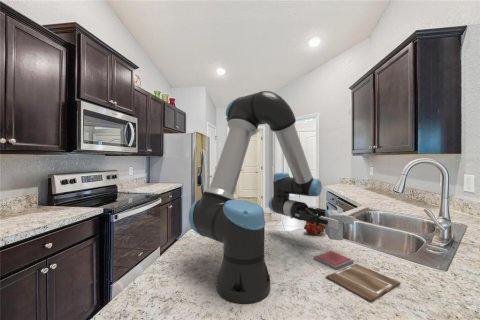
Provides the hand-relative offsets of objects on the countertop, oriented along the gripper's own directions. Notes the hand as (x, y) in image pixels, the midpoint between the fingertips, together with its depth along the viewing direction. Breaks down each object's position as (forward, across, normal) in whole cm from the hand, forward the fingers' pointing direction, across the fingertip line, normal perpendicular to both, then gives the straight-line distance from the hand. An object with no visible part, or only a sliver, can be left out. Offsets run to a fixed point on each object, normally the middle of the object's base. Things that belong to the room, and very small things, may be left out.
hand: (345, 222), depth 71 cm
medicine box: (-5, 0, -6) cm, 8 cm away
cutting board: (+8, +4, -15) cm, 17 cm away
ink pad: (-5, 0, -15) cm, 16 cm away
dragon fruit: (-28, -18, -15) cm, 36 cm away
